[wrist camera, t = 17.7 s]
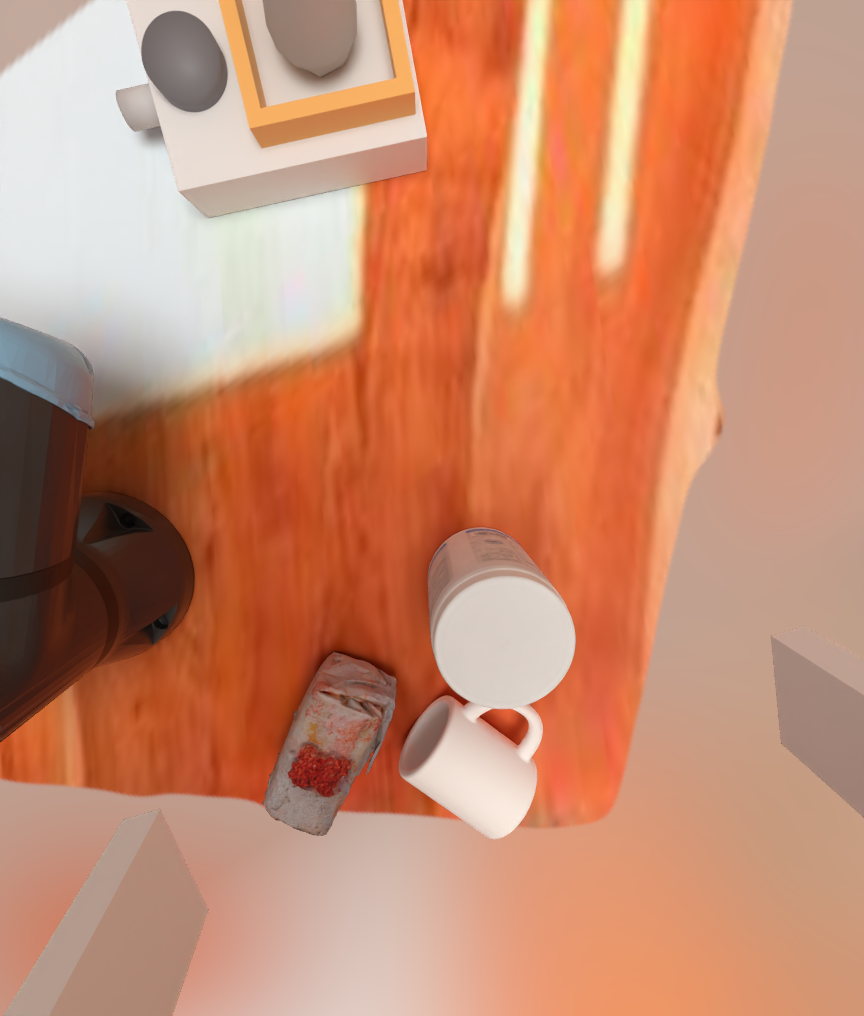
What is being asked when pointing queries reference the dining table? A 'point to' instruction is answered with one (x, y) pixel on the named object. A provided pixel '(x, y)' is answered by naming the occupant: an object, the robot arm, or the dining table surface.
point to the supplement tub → (496, 621)
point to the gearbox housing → (272, 104)
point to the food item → (330, 742)
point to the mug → (472, 765)
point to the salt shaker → (312, 32)
